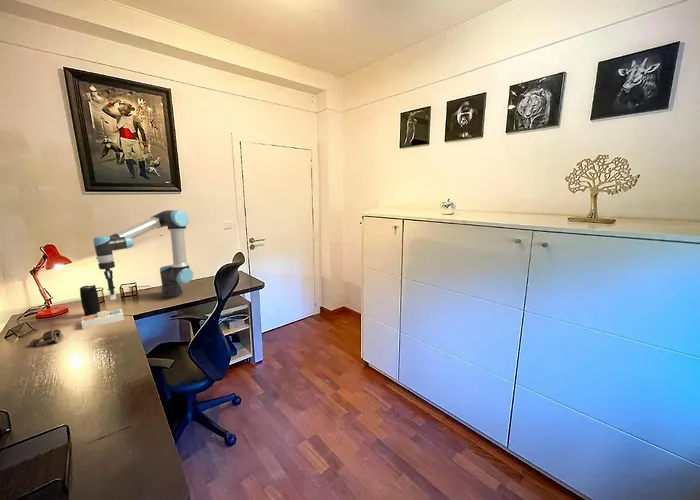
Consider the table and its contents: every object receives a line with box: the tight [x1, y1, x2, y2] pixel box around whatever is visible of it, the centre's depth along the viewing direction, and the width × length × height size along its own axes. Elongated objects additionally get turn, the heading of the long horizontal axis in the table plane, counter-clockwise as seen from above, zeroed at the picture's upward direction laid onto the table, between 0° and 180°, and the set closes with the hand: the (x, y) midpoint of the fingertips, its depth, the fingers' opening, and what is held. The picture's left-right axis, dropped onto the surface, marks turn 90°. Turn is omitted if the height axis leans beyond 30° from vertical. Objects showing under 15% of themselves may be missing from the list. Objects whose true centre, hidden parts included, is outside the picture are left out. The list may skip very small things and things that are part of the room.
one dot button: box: [109, 309, 120, 315], centre depth 183 cm, size 4×4×3 cm
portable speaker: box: [79, 284, 101, 316], centre depth 190 cm, size 8×9×19 cm
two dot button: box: [97, 310, 108, 317], centre depth 179 cm, size 4×4×3 cm
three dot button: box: [83, 315, 95, 320], centre depth 176 cm, size 4×4×3 cm
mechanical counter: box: [29, 328, 64, 347], centre depth 153 cm, size 7×13×10 cm
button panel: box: [81, 308, 125, 330], centre depth 180 cm, size 19×12×4 cm, turn 131°
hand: (113, 299), depth 182 cm, fingers closed
